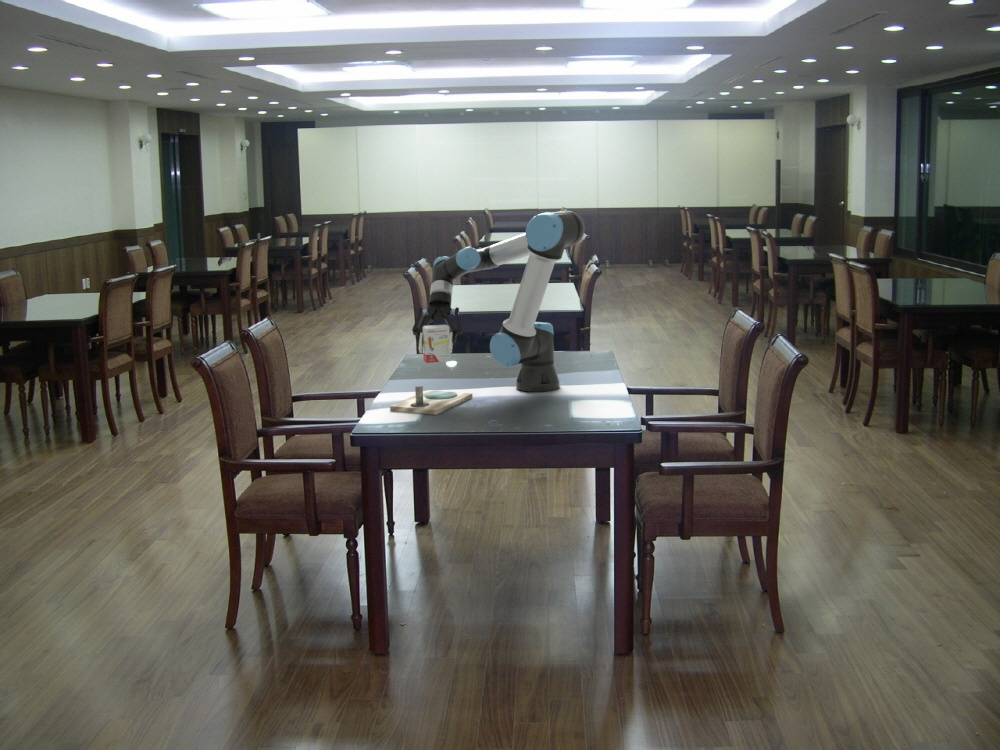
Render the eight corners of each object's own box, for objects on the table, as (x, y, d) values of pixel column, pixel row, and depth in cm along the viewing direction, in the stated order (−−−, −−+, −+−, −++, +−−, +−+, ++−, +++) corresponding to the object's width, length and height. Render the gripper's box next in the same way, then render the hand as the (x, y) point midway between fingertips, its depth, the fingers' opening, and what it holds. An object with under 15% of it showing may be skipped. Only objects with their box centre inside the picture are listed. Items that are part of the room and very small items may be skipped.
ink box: (425, 363, 349) (424, 328, 346) (423, 360, 354) (421, 325, 351) (451, 361, 351) (449, 326, 348) (448, 358, 356) (446, 324, 353)
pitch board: (472, 397, 354) (471, 375, 352) (436, 414, 332) (435, 391, 330) (428, 394, 361) (427, 372, 360) (390, 410, 339) (388, 387, 338)
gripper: (473, 302, 362) (469, 356, 350) (410, 303, 365) (404, 357, 353) (471, 289, 356) (466, 343, 344) (407, 290, 359) (400, 344, 346)
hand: (435, 350), depth 348 cm, fingers closed on ink box, 9 cm apart
